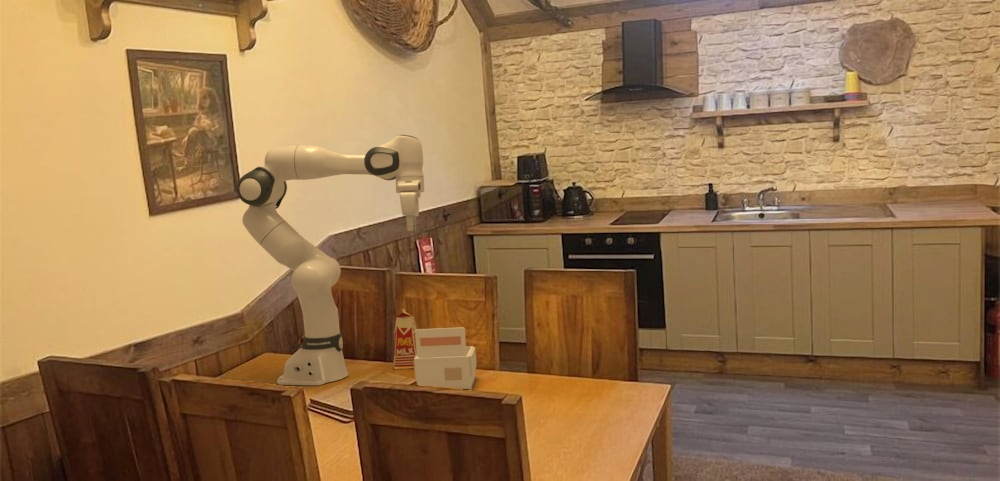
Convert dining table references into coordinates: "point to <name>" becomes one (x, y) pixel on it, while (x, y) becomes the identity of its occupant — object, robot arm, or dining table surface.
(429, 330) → the flap
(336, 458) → the dining table surface
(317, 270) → the robot arm
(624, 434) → the dining table surface
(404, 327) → the milk carton
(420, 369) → the carton
